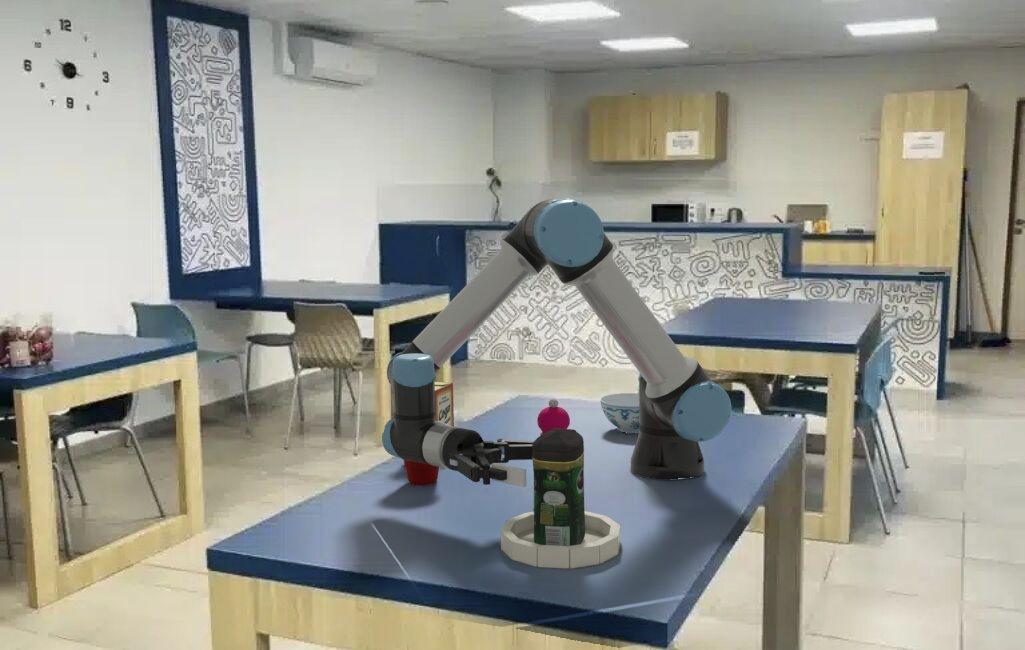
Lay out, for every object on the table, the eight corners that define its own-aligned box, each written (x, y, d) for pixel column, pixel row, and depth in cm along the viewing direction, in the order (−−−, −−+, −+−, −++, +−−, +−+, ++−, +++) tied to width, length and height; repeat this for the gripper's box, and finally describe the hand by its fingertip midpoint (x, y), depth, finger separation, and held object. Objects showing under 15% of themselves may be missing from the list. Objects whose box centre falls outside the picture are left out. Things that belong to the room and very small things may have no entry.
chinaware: (666, 437, 231) (666, 405, 230) (602, 438, 231) (602, 406, 230) (657, 422, 246) (658, 392, 245) (598, 423, 246) (598, 393, 245)
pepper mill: (578, 499, 186) (577, 395, 183) (567, 511, 179) (566, 403, 176) (541, 496, 188) (540, 393, 185) (530, 507, 181) (528, 401, 179)
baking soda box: (436, 461, 214) (434, 389, 212) (409, 458, 216) (407, 387, 214) (454, 450, 223) (452, 381, 220) (428, 448, 225) (426, 379, 223)
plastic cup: (442, 491, 192) (441, 431, 191) (389, 488, 194) (387, 429, 193) (456, 475, 203) (455, 418, 201) (406, 473, 205) (404, 417, 203)
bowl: (589, 520, 172) (589, 504, 172) (639, 557, 155) (640, 539, 154) (487, 535, 166) (486, 517, 165) (527, 575, 148) (527, 556, 148)
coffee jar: (543, 531, 166) (542, 423, 163) (589, 535, 163) (589, 426, 161) (527, 551, 156) (526, 437, 154) (576, 555, 154) (575, 440, 152)
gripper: (500, 454, 183) (594, 473, 170) (404, 486, 164) (502, 510, 150) (499, 414, 182) (594, 431, 169) (403, 442, 163) (501, 463, 149)
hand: (551, 468), depth 159 cm, fingers open, 13 cm apart
